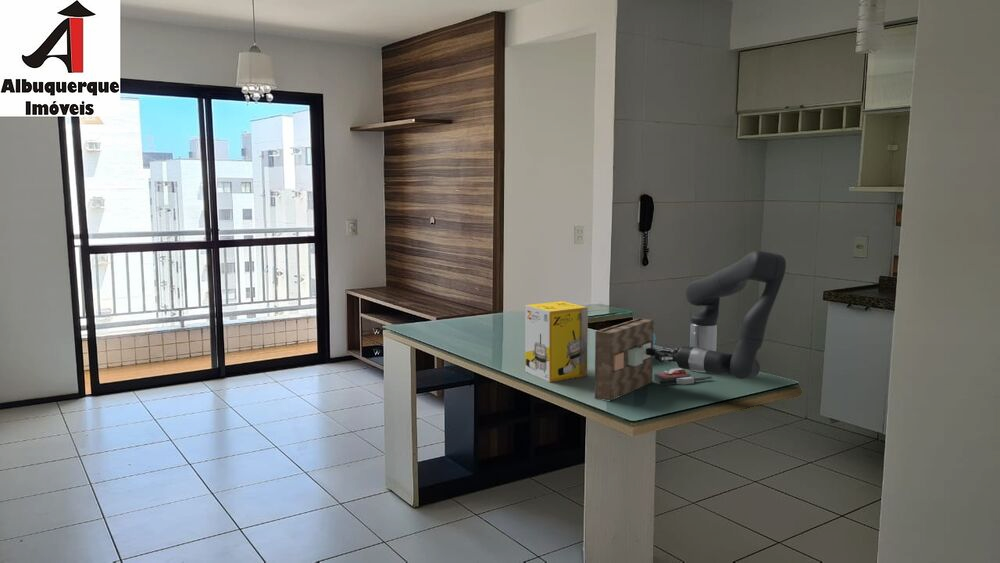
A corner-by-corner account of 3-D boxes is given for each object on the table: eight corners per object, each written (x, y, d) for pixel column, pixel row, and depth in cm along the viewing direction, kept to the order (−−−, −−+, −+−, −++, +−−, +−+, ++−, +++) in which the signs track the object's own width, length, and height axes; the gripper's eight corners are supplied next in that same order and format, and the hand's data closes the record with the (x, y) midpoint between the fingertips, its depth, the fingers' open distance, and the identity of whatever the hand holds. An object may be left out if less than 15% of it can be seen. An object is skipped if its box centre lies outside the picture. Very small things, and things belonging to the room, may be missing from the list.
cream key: (638, 354, 246) (639, 340, 245) (650, 356, 243) (650, 342, 242) (631, 357, 242) (631, 343, 241) (643, 359, 239) (643, 345, 239)
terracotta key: (611, 365, 232) (611, 350, 232) (623, 367, 229) (623, 352, 229) (603, 368, 229) (603, 353, 228) (615, 370, 226) (615, 355, 225)
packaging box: (587, 375, 255) (587, 307, 252) (549, 382, 247) (549, 311, 244) (561, 365, 269) (561, 300, 266) (525, 371, 261) (524, 304, 258)
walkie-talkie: (663, 388, 240) (713, 382, 247) (664, 375, 240) (713, 369, 247) (649, 381, 249) (698, 375, 255) (650, 369, 248) (698, 363, 255)
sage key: (630, 361, 238) (631, 346, 237) (642, 363, 235) (643, 348, 234) (623, 364, 234) (623, 349, 233) (635, 366, 231) (635, 351, 230)
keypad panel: (638, 379, 250) (639, 317, 247) (652, 382, 247) (653, 319, 243) (594, 398, 229) (595, 331, 226) (609, 401, 225) (610, 333, 222)
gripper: (704, 343, 234) (656, 336, 245) (686, 351, 224) (637, 343, 235) (703, 366, 235) (656, 358, 246) (685, 374, 225) (636, 365, 236)
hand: (647, 351), depth 241 cm, fingers closed
